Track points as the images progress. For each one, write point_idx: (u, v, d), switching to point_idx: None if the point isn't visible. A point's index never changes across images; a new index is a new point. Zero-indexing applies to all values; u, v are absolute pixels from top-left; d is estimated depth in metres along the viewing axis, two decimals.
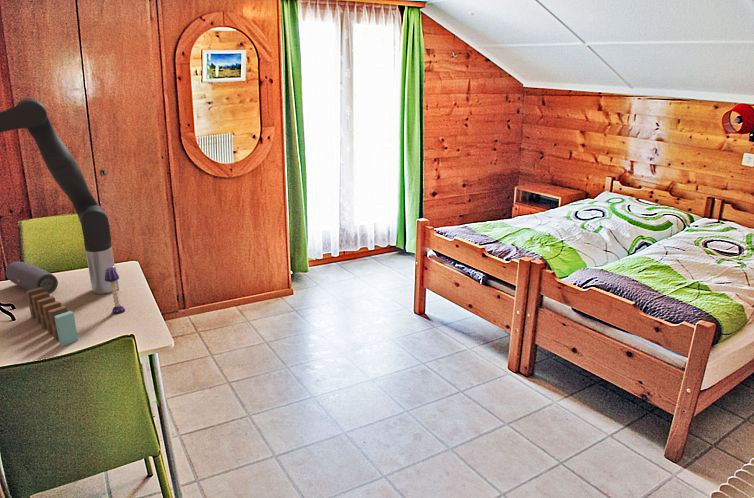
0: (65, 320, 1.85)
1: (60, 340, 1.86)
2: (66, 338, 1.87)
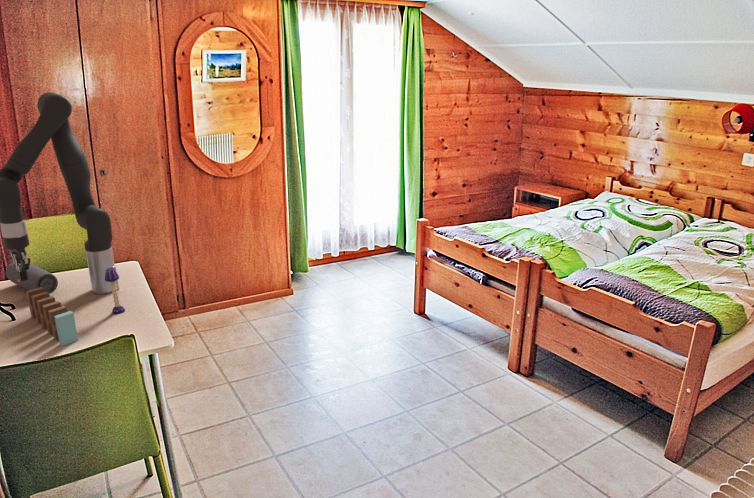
0: (65, 320, 1.85)
1: (60, 340, 1.86)
2: (66, 338, 1.87)
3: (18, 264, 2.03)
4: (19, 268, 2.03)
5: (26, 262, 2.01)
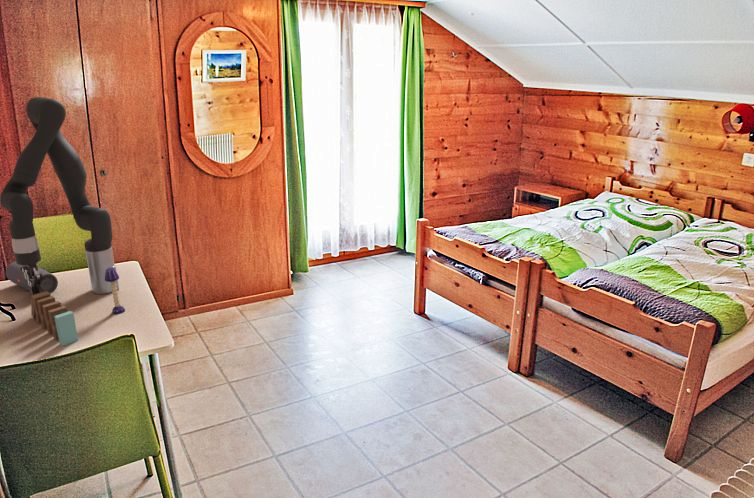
0: (65, 320, 1.85)
1: (60, 340, 1.86)
2: (66, 338, 1.87)
3: (30, 279, 1.99)
4: (31, 283, 2.00)
5: (38, 278, 1.97)
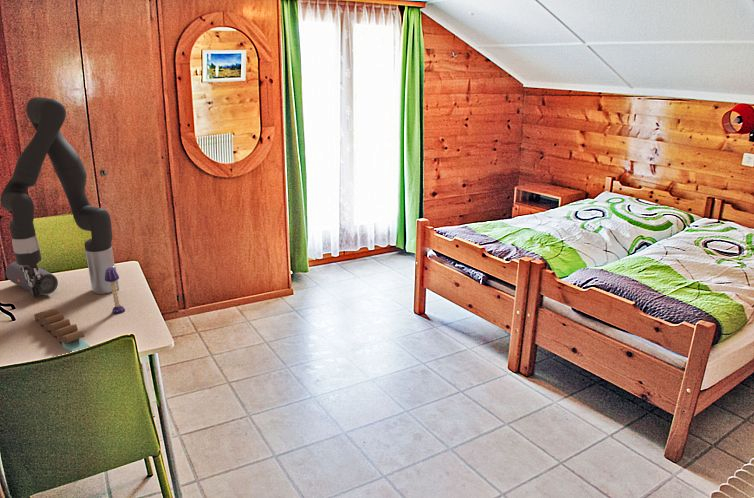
0: None
1: (64, 347, 1.85)
2: None
3: (30, 280, 1.99)
4: (31, 284, 2.00)
5: (38, 278, 1.97)
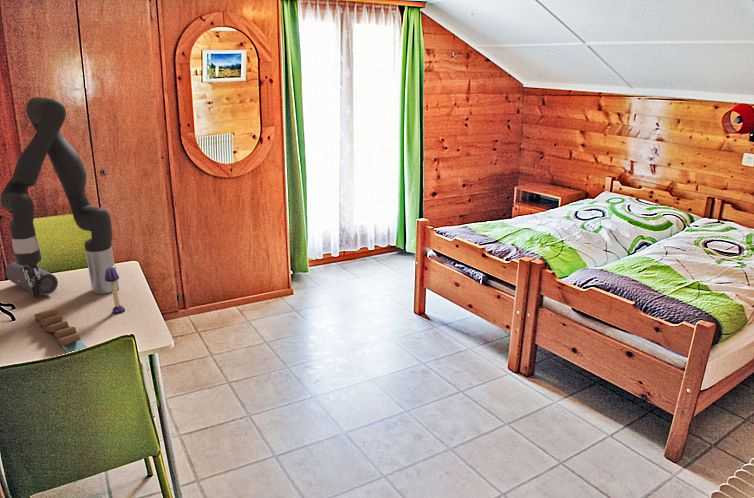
0: None
1: (64, 349, 1.84)
2: None
3: (30, 280, 1.99)
4: (31, 284, 2.00)
5: (38, 278, 1.97)
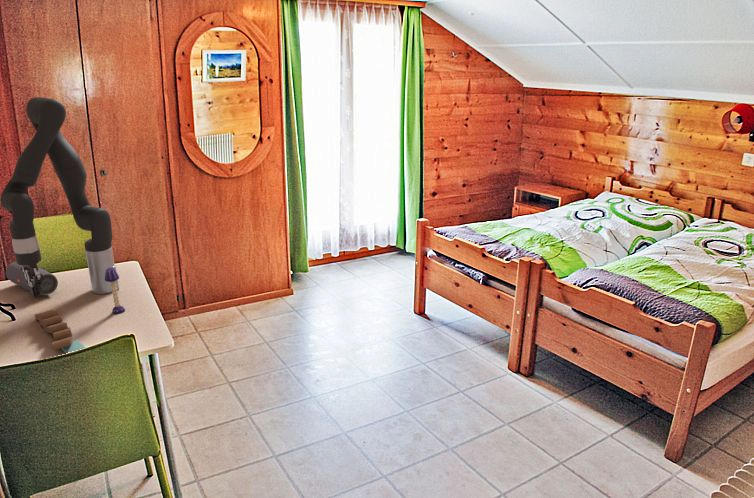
0: None
1: (63, 350, 1.83)
2: None
3: (30, 280, 1.99)
4: (31, 284, 2.00)
5: (38, 278, 1.97)
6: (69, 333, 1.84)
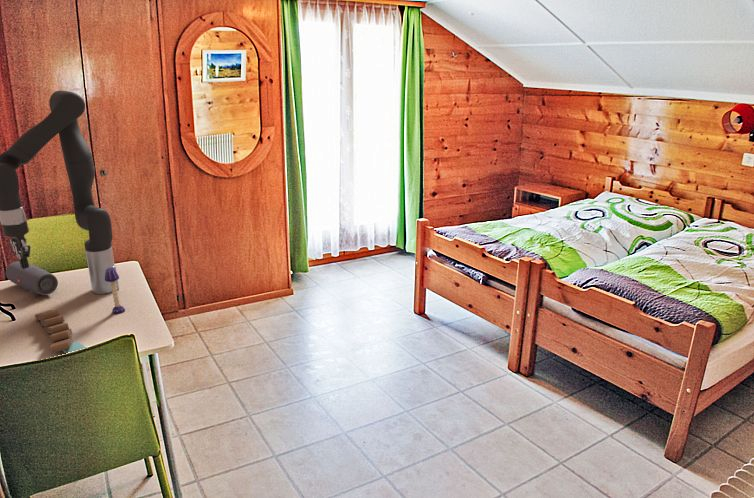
0: None
1: (64, 351, 1.82)
2: None
3: (18, 252, 1.99)
4: (19, 256, 2.00)
5: (26, 249, 1.97)
6: (66, 335, 1.83)
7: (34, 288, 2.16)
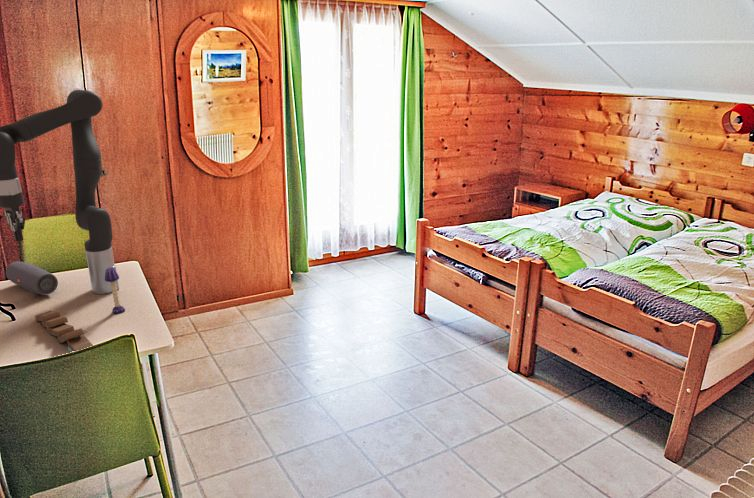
0: None
1: (70, 351, 1.83)
2: None
3: (13, 223, 1.96)
4: (14, 228, 1.96)
5: (21, 221, 1.94)
6: (81, 332, 1.84)
7: (34, 288, 2.16)
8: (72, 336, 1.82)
